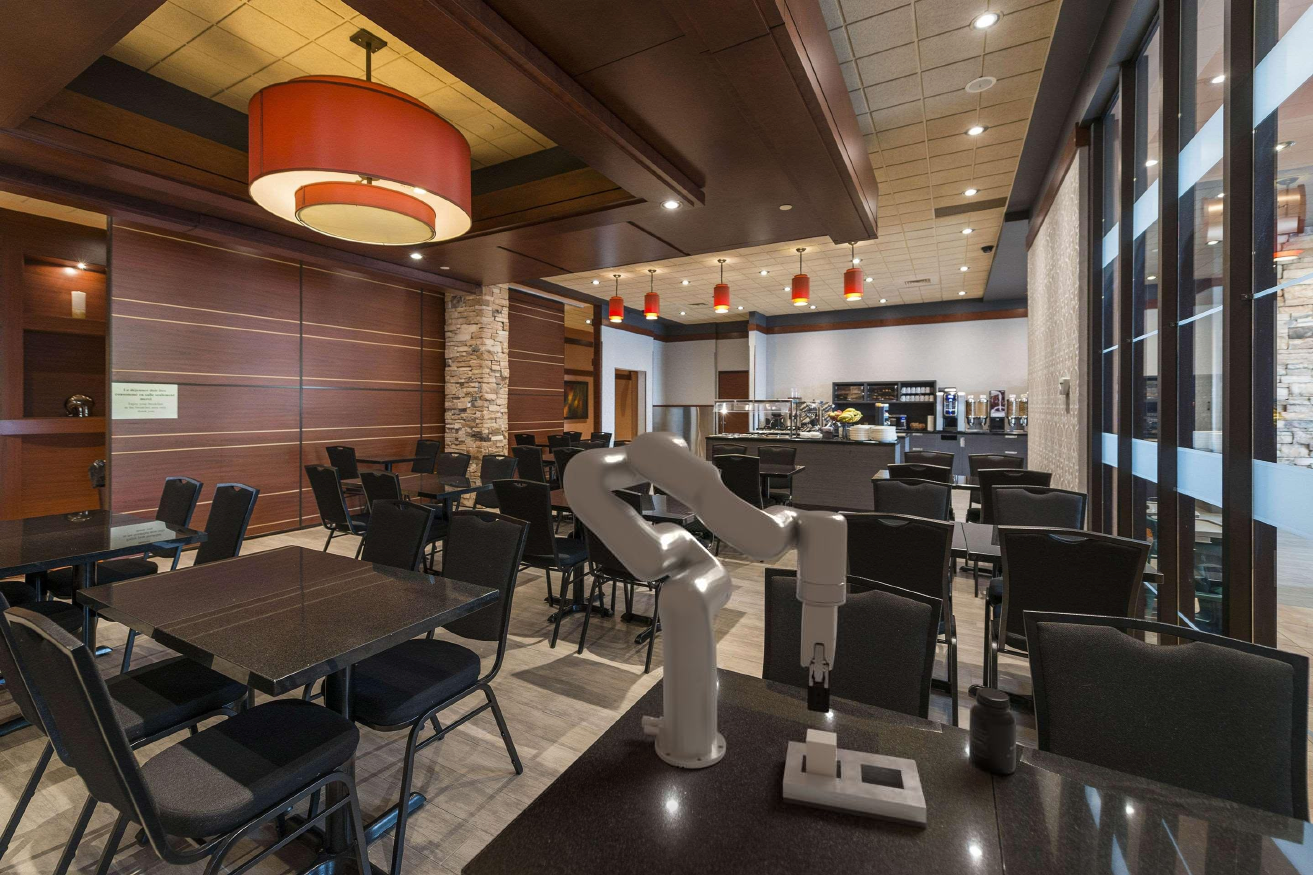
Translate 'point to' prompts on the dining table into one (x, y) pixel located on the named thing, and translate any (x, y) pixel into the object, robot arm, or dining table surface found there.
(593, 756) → the dining table surface
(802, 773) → the socket board
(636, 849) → the dining table surface
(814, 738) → the plug
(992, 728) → the supplement bottle
